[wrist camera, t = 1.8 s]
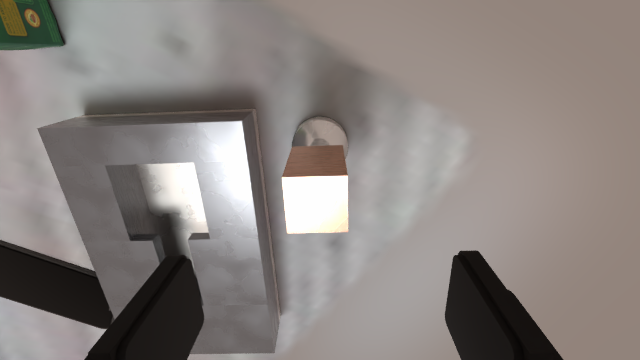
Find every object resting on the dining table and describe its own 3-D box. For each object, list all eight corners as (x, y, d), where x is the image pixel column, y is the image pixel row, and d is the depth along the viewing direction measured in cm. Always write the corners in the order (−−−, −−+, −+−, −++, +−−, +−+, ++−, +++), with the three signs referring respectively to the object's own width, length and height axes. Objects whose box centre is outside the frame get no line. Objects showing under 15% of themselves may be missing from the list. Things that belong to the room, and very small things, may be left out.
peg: (291, 117, 25) (268, 166, 15) (346, 115, 25) (360, 163, 15) (295, 168, 27) (276, 243, 17) (347, 167, 27) (359, 241, 17)
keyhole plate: (83, 115, 25) (37, 128, 21) (255, 108, 25) (241, 121, 21) (152, 317, 34) (128, 354, 30) (280, 315, 34) (274, 352, 29)
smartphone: (-29, 281, 33) (114, 326, 35) (-37, 286, 32) (109, 333, 34) (-29, 226, 30) (126, 279, 32) (-38, 231, 30) (121, 284, 32)
